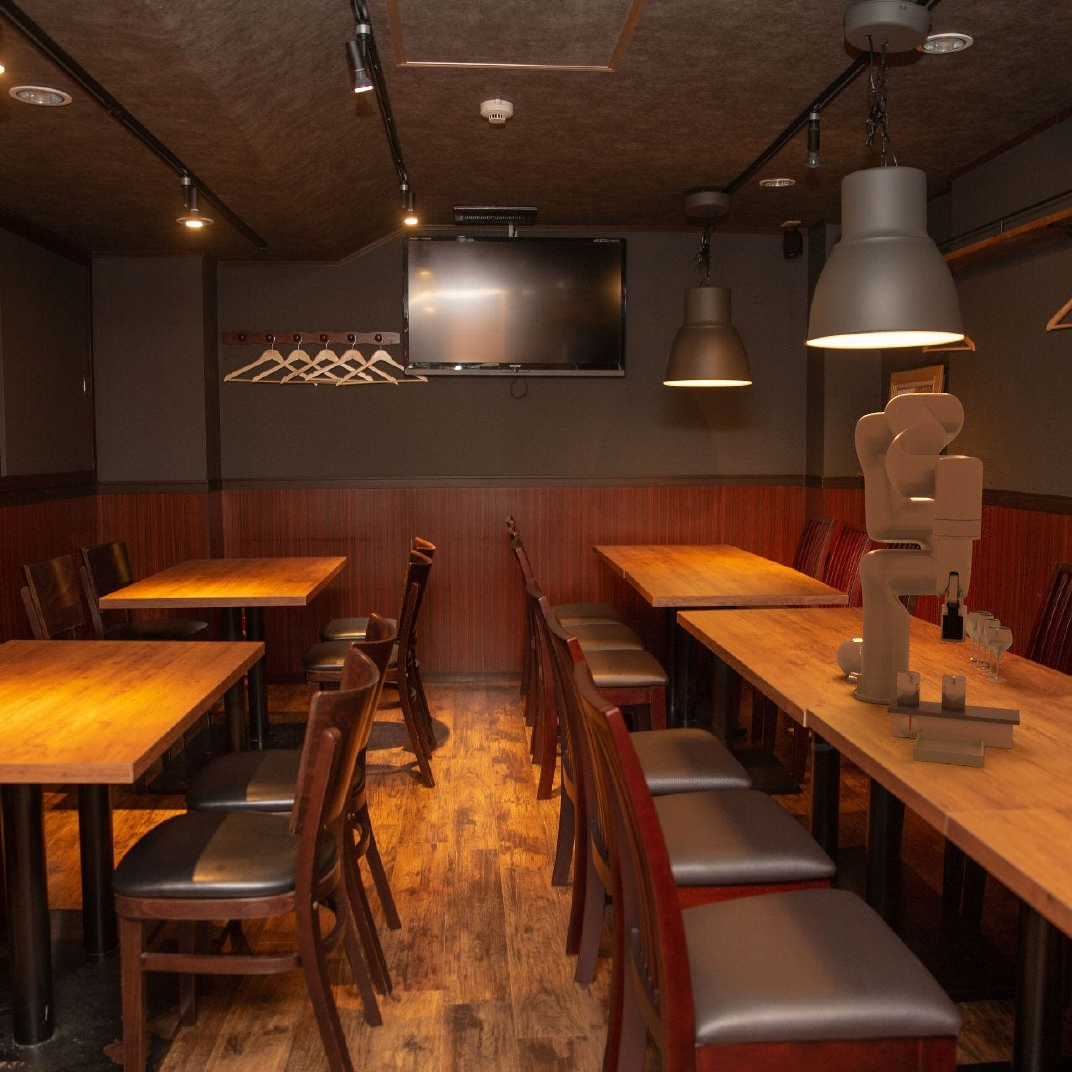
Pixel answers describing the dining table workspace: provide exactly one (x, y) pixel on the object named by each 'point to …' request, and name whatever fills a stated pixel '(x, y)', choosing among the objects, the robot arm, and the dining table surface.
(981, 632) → the goblet set
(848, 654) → the potion bottle
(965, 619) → the cylinder
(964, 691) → the knob
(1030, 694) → the dining table surface
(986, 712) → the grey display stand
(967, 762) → the grey square tray
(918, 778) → the dining table surface
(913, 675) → the left steel weight
